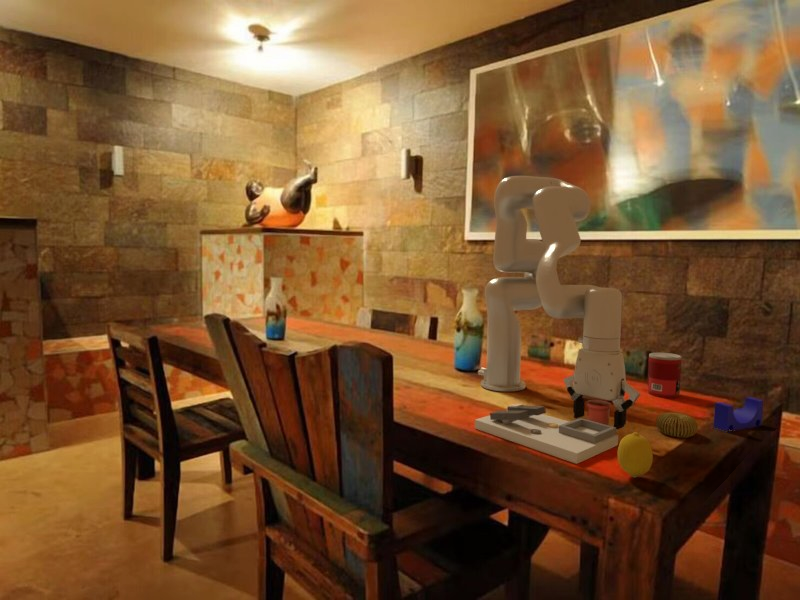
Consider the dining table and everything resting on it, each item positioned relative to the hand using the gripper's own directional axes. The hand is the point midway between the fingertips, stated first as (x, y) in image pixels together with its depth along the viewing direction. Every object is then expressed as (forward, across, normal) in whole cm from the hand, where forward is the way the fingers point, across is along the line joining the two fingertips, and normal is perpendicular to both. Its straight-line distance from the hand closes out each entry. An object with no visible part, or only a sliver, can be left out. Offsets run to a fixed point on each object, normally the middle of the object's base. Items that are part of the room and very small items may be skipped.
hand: (598, 422), depth 115 cm
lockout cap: (+2, 0, 0) cm, 2 cm away
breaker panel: (+2, -5, -13) cm, 14 cm away
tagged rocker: (-1, -11, -11) cm, 15 cm away
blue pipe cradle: (+2, +18, +27) cm, 32 cm away
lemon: (+2, +17, -18) cm, 25 cm away
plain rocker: (-1, -11, -17) cm, 20 cm away
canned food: (+2, -4, +41) cm, 41 cm away
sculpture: (+2, +12, +11) cm, 16 cm away
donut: (+2, -15, +24) cm, 28 cm away
